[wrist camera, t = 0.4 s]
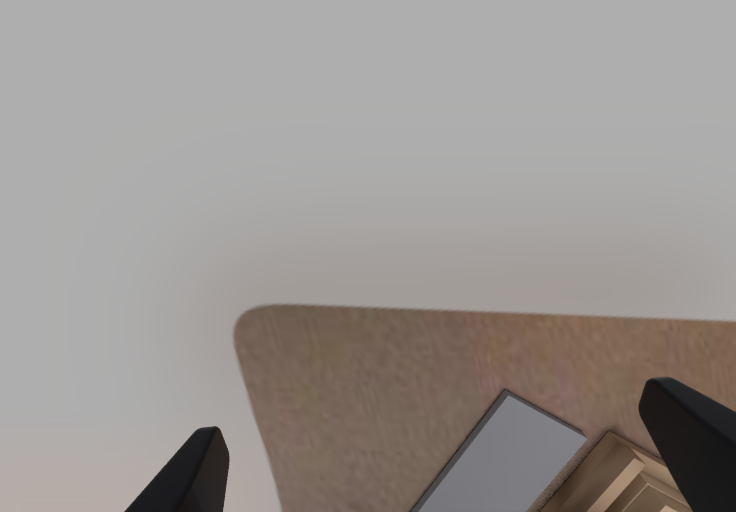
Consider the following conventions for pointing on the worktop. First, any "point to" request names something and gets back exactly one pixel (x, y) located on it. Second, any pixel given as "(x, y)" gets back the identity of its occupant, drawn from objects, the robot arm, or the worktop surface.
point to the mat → (504, 461)
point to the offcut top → (655, 502)
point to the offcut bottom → (638, 486)
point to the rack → (606, 476)
